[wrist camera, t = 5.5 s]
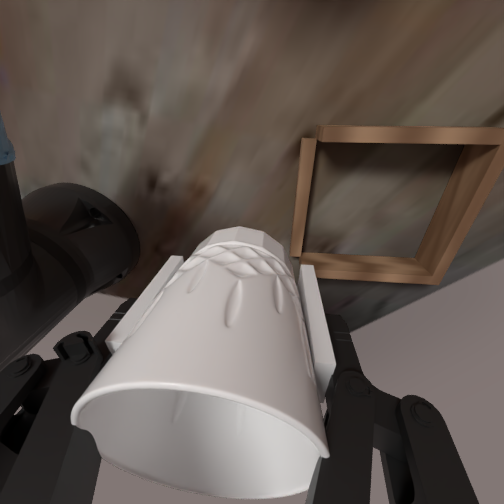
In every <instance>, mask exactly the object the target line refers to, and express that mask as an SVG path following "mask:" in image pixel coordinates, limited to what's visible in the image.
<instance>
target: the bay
mask: <svg viewBox="0 0 504 504" xmlns="http://www.w3.org/2000/svg"><path fill="white" fill-rule="evenodd" d="M317 140H319V141H321V142H358V143H422V144H465V146H464V148H463V150H462V153H461V155H460V157H459V159H458V162H457V164H456V166H455V168H454V170H453V173H452V175H451V177H450V179H449V182H448V184H447V186H446V188H445V191H444V193H443V195H442V197H441V200H440V202H439V204H438V206H437V209H436V211H435V213H434V215H433V218H432V220H431V222H430V224H429V227H428V229H427V231H426V233H425V236H424V238H423V240H422V242H421V245H420V247H419V249H418V251H417V254H416V256H415V258H404V257H384V256H364V255H345V254H325V253H306V252H301V251H302V243H303V236H304V229H305V222H306V214H307V207H308V200H309V193H310V185H311V178H312V171H313V164H314V157H315V149H316V142H317ZM503 167H504V128H497V127H440V126H343V125H317V128H316V135H315V138H302V140H301V149H300V158H299V168H298V177H297V186H296V196H295V205H294V214H293V224H292V233H291V243H290V256H294V257H299V264H300V267H301V264H302V265H313V266H314V271H315V275H316V278H329V279H346V280H363V281H380V282H397V283H414V284H431V285H439V284H440V282H441V280H442V278H443V276H444V275H445V273H446V271H447V269H448V267H449V266H450V264H451V262H452V260H453V258H454V256H455V255H456V253H457V251H458V249H459V247H460V246H461V244H462V242H463V240H464V238H465V236H466V235H467V233H468V231H469V229H470V227H471V226H472V224H473V222H474V220H475V218H476V216H477V215H478V213H479V211H480V209H481V207H482V206H483V204H484V202H485V200H486V198H487V197H488V195H489V193H490V191H491V189H492V187H493V186H494V184H495V182H496V180H497V178H498V177H499V175H500V173H501V171H502V169H503Z"/></svg>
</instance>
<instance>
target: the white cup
mask: <svg viewBox="0 0 504 504" xmlns="http://www.w3.org/2000/svg"><path fill="white" fill-rule="evenodd" d="M71 424H72V425H76V426H77V427H78V428H80V429H84V430H87V431H89V432H90V433H91V434H92V435H93V437H94V439H95V442H96V445H97V448H98V451H99V453H100V455H101V457H102V459H104V460H105V461H107V462H108V463H110V464H112V465H114V466H115V467H117V468H119V469H121V470H123V471H125V472H128V473H130V474H132V475H135V476H137V477H139V478H142V479H145V480H147V481H150V482H153V483H156V484H159V485H163V486H166V487H170V488H173V489H177V490H182V491H186V492H190V493H196V494H201V495H208V496H214V497H223V498H234V499H269V498H278V497H285V496H290V495H294V494H298V493H301V492H304V491H307V490H309V485H310V482H311V479H312V476H313V473H314V469H315V466H316V463H317V461H318V458H319V457H320V456H321V457H324V458H328V457H330V453H329V448H328V443H327V437H326V431H325V426H324V421H323V416H322V410H321V405H320V400H319V395H318V389H317V384H316V379H315V373H314V368H313V362H312V357H311V352H310V346H309V341H308V335H307V330H306V325H305V320H304V317H303V313H302V309H301V302H300V297H299V293H298V290H297V286H296V283H295V279H294V273H293V267H292V263H291V261H290V259H289V257H288V255H287V253H286V251H285V249H284V247H283V246H282V245H281V244H280V243H278V242H277V241H276V240H274V239H273V238H272V237H270V236H269V235H268V234H266V233H265V232H263V231H259V230H255V229H250V228H246V227H241V226H238V227H232V228H227V229H222V230H217V231H215V232H214V233H213V234H211V235H210V236H209V237H208V238H206V239H205V240H204V241H203V242H201V243H200V244H199V245H198V247H197V248H196V249H195V251H194V252H193V254H192V255H191V256H190V258H188V259H187V260H186V261H185V263H184V264H183V265H182V266H181V267H180V268H179V269H178V271H177V272H176V273H175V275H174V276H173V278H172V279H171V280H170V281H169V282H168V283H167V285H166V286H165V287H164V288H163V289H162V291H161V292H160V293H159V294H158V296H157V297H156V298H155V299H154V301H153V302H152V303H151V305H150V306H149V307H148V309H147V310H146V311H145V313H144V314H143V315H142V317H141V318H140V319H139V321H138V322H137V323H136V325H135V326H134V327H133V329H132V330H131V331H130V333H129V334H128V335H127V337H126V338H125V339H124V341H123V342H122V343H121V344H120V346H119V347H118V348H117V350H116V351H115V352H114V354H113V355H112V356H111V358H110V359H109V360H108V362H107V363H106V364H105V365H104V367H103V368H102V369H101V371H100V372H99V373H98V375H97V376H96V377H95V379H94V380H93V381H92V382H91V384H90V385H89V386H88V388H87V389H86V390H85V392H84V393H83V394H82V395H81V397H80V398H79V399H78V401H77V402H76V403H75V405H74V407H73V409H72V411H71Z"/></svg>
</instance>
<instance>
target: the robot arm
mask: <svg viewBox="0 0 504 504" xmlns="http://www.w3.org/2000/svg"><path fill="white" fill-rule="evenodd" d="M15 158H16V157H15V151H14V149H13V145H12V143H11V142H10V140H9V139H8V138H7V134H6V131H5V127H4V123H3V120H2V116H1V113H0V504H92V500H93V495H94V490H95V486H96V481H97V477H98V472H99V467H100V463H101V458H102V457H101V455H100V453H99V451H98V448H97V445H96V442H95V439H94V437H93V435H92V434H91V433H90V432H89V431H87V430H84V429H80V428H78V427H77V426H76V425H72V424H71V411H72V409H73V407H74V405H75V403H76V402H77V401H78V399H79V398H80V397H81V395H82V394H83V393H84V392H85V390H86V389H87V388H88V386H89V385H90V384H91V382H92V381H93V380H94V379H95V377H96V376H97V375H98V373H99V372H100V371H101V369H102V368H103V367H104V365H105V364H106V363H107V362H108V360H109V359H110V358H111V356H112V355H113V354H114V352H115V351H116V350H117V348H118V347H119V346H120V344H121V343H122V342H123V341H124V339H125V338H126V337H127V335H128V334H129V333H130V331H131V330H132V329H133V327H134V326H135V325H136V323H137V322H138V321H139V319H140V318H141V317H142V315H143V314H144V313H145V311H146V310H147V309H148V307H149V306H150V305H151V303H152V302H153V301H154V299H155V298H156V297H157V296H158V294H159V293H160V292H161V291H162V289H163V288H164V287H165V286H166V285H167V283H168V282H169V281H170V280H171V279H172V278H173V276H174V275H175V273H176V272H177V271H178V269H179V268H180V267H181V266H182V265H183V264H184V261H183V256H171V257H170V258H169V259H168V261H167V262H166V263H165V264H164V266H163V267H162V268H161V270H160V271H159V272H158V273H157V275H156V276H155V277H154V279H153V280H152V281H151V282H150V284H149V285H148V286H147V288H146V289H145V290H144V291H143V293H142V294H141V295H140V296H139V298H138V299H136V298H130V299H128V300H127V301H125V302H124V303H123V304H121V305H120V306H119V308H118V309H117V310H116V311H115V313H114V314H113V315H112V316H111V317H110V320H108V321H107V322H106V323H105V324H104V325H103V327H102V328H101V329H100V330H99V331H98V333H97V334H96V335H95V336H94V337H92V335H91V334H90V333H89V332H87V331H78V332H74V333H71V334H69V335H67V336H66V337H64V338H62V339H61V340H60V341H59V342H57V344H56V345H55V346H54V348H53V349H54V351H55V352H56V353H57V355H58V357H59V358H57V359H51V360H46V361H44V360H43V359H42V358H41V357H40V356H39V355H37V354H30V355H26V354H27V353H28V352H29V351H30V350H31V349H32V348H33V347H34V346H35V345H36V344H37V343H38V342H39V341H40V340H41V339H43V338H44V337H45V335H47V334H48V333H49V332H50V331H51V330H52V329H53V328H54V327H55V326H56V325H57V324H58V323H59V322H60V321H61V320H62V319H63V318H64V317H65V316H66V315H68V314H69V312H71V311H72V310H73V309H74V308H75V307H76V306H77V305H78V304H79V303H80V302H81V301H82V300H83V299H85V298H86V297H88V296H90V295H93V294H95V293H97V292H99V291H101V290H103V289H105V288H107V287H109V286H111V285H113V284H115V283H117V282H119V281H121V280H122V279H123V278H125V277H126V276H127V275H128V273H129V272H130V271H131V270H132V269H133V268H134V267H135V266H136V264H137V262H138V259H139V255H140V245H139V240H138V237H137V234H136V231H135V229H134V227H133V225H132V224H131V222H130V221H129V219H128V218H127V216H126V215H125V214H124V213H123V212H122V211H121V209H119V208H118V207H117V206H116V205H115V204H114V203H113V202H112V201H110V200H109V199H108V198H106V197H105V196H103V195H102V194H100V193H98V192H96V191H94V190H92V189H90V188H88V187H85V186H82V185H78V184H73V183H57V184H53V185H49V186H46V187H43V188H40V189H37V190H35V191H33V192H31V193H29V194H28V195H27V196H25V197H24V198H23V199H22V200H21V195H20V190H19V185H18V180H17V176H16V171H15V166H14V161H13V160H15ZM297 290H298V293H299V297H300V302H301V309H302V313H303V317H304V320H305V325H306V330H307V335H308V341H309V346H310V352H311V357H312V362H313V368H314V373H315V379H316V384H317V389H318V395H319V400H320V403H323V402H324V399H325V397H326V403H327V411H326V413H325V416H324V419H323V421H324V426H325V431H326V437H327V443H328V448H329V453H330V457H328V458H324V457H321V456H320V457H319V458H318V461H317V463H316V466H315V469H314V473H313V476H312V479H311V482H310V485H309V490H308V494H307V499H306V503H305V504H370V488H371V469H372V452H373V447H374V448H376V449H378V450H380V455H381V461H382V466H383V472H384V477H385V482H386V488H387V493H388V499H389V504H479V502H478V500H477V497H476V495H475V493H474V490H473V488H472V486H471V483H470V481H469V478H468V476H467V473H466V471H465V468H464V466H463V464H462V461H461V459H460V456H459V454H458V452H457V449H456V447H455V445H454V442H453V440H452V437H451V435H450V432H449V430H448V428H447V425H446V423H445V421H444V419H443V417H442V416H441V414H440V412H439V411H438V410H437V409H436V408H435V407H434V406H433V405H432V404H431V403H429V402H428V401H426V400H425V399H423V398H421V397H418V396H416V395H407V396H405V397H403V398H402V399H399V398H397V397H395V396H392V395H390V394H387V393H385V392H383V391H381V390H379V389H377V388H376V387H375V386H373V385H372V384H371V382H370V381H369V380H368V379H367V378H366V377H365V376H364V374H363V372H362V369H361V366H360V363H359V360H358V357H357V354H356V351H355V348H354V345H353V342H352V339H351V336H350V334H349V333H350V332H349V329H348V326H347V323H346V322H345V321H344V320H343V319H342V317H341V316H340V315H331V314H324V310H323V305H322V301H321V297H320V292H319V288H318V284H317V279H316V275H315V271H314V266H313V265H302V264H301V267H300V273H299V280H298V286H297ZM20 406H21V407H22V409H21V410H20V411H19V412H18V413H17V414H16V415H14V413H15V412H16V411H17V410H18V408H19V407H20Z"/></svg>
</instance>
